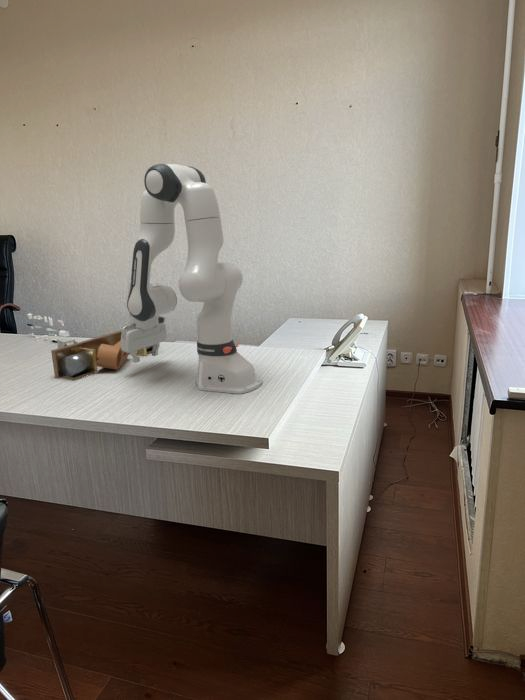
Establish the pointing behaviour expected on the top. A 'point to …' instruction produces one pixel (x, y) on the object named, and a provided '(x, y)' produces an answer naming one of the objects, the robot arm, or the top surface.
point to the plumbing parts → (61, 332)
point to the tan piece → (111, 356)
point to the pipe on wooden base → (85, 356)
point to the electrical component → (65, 342)
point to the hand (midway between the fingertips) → (145, 358)
